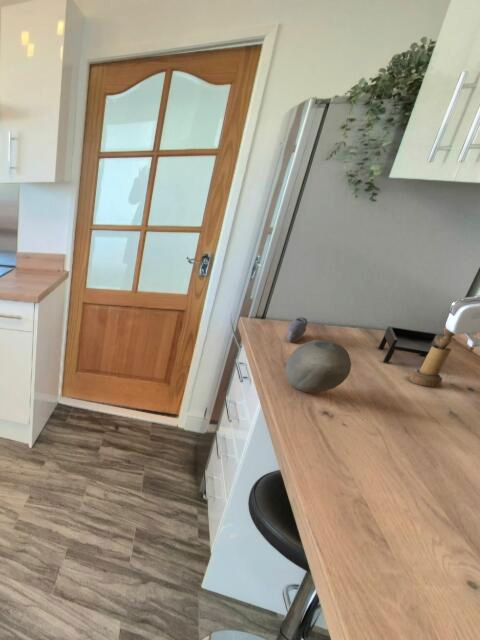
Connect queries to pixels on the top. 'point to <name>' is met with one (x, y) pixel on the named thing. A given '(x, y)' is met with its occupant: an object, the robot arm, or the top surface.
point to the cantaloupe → (318, 366)
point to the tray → (407, 341)
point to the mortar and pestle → (433, 363)
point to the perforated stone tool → (296, 329)
